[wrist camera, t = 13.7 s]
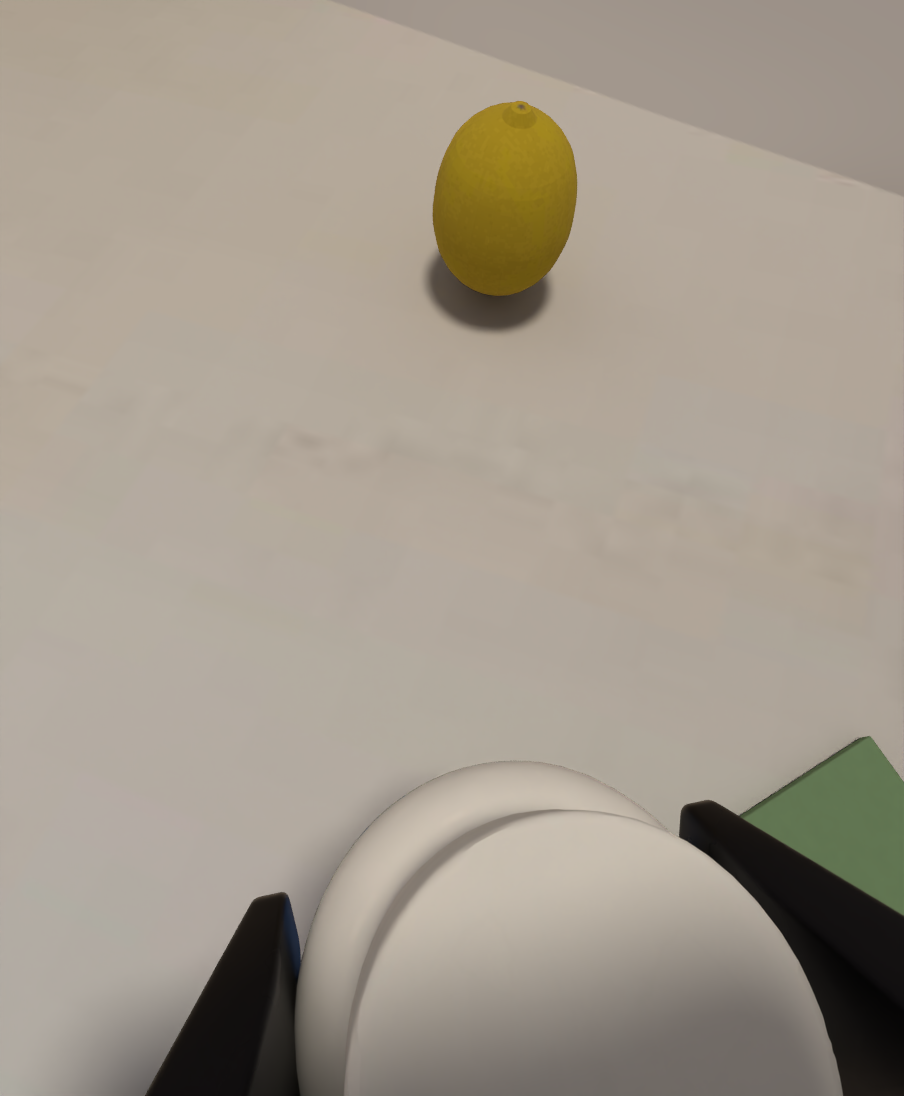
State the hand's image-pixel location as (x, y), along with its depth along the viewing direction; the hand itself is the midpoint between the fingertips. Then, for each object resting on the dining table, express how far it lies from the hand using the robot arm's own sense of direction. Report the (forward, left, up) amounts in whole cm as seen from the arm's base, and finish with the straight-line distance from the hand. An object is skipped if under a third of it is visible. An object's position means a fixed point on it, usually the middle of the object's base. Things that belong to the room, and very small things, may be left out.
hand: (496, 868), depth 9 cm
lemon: (+19, -12, -12) cm, 26 cm away
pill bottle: (-1, +1, -6) cm, 7 cm away
